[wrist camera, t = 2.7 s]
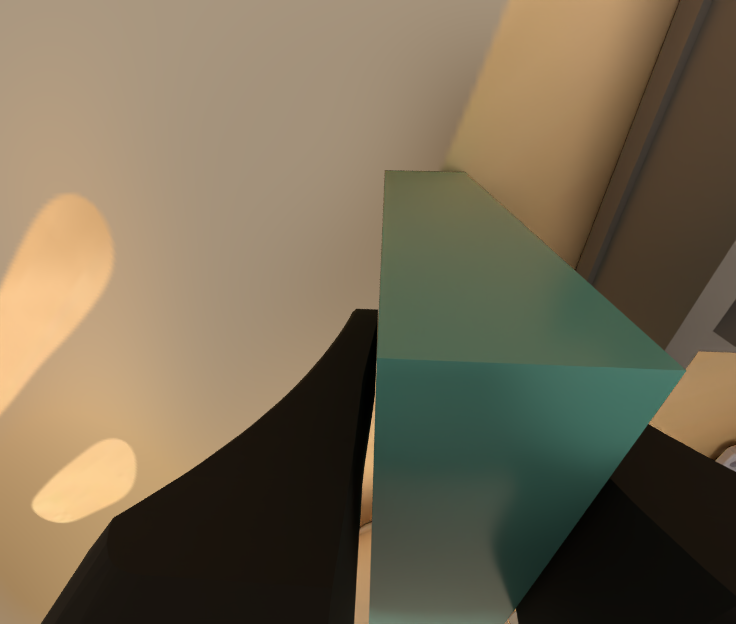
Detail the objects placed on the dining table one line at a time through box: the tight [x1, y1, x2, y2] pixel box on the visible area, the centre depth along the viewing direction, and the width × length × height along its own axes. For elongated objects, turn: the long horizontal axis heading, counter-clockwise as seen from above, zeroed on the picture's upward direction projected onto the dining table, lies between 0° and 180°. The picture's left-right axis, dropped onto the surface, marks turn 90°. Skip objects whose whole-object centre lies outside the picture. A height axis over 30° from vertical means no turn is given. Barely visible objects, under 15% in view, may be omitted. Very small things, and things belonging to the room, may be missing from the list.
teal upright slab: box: [369, 170, 686, 624], centre depth 9 cm, size 8×2×9 cm, turn 0°
